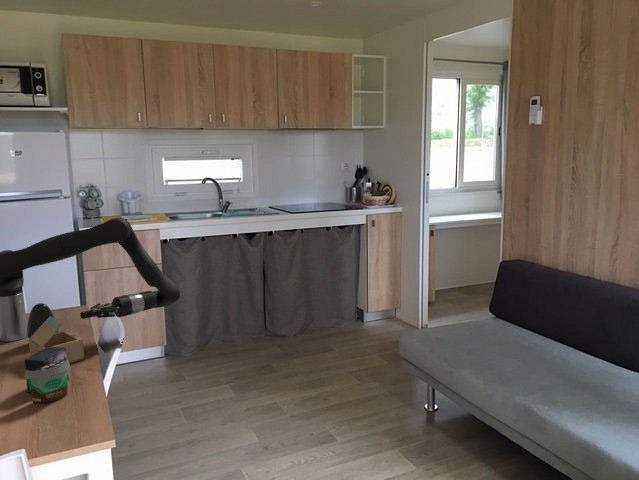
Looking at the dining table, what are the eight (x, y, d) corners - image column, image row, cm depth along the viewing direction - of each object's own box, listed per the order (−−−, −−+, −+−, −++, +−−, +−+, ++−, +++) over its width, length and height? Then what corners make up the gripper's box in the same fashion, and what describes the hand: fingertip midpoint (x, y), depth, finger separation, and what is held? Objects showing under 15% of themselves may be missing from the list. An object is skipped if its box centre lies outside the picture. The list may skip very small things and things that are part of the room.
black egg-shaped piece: (33, 351, 187) (28, 309, 184) (25, 343, 194) (20, 303, 192) (63, 343, 193) (59, 303, 191) (54, 336, 201) (50, 298, 198)
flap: (28, 338, 176) (49, 315, 180) (30, 339, 176) (50, 316, 181) (41, 346, 169) (62, 322, 173) (42, 347, 169) (63, 323, 173)
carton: (30, 359, 179) (27, 339, 178) (68, 348, 188) (66, 329, 187) (47, 370, 169) (44, 350, 167) (86, 359, 178) (84, 339, 176)
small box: (46, 395, 152) (42, 360, 150) (26, 393, 153) (22, 359, 151) (70, 379, 162) (66, 346, 160) (51, 378, 163) (48, 345, 161)
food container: (40, 410, 142) (36, 375, 141) (27, 405, 146) (23, 370, 144) (81, 392, 153) (78, 359, 151) (69, 387, 156) (65, 355, 154)
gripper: (119, 292, 199) (72, 302, 187) (136, 298, 190) (88, 308, 178) (120, 311, 200) (74, 322, 188) (138, 318, 191) (90, 330, 179)
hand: (81, 315), depth 183 cm, fingers closed
